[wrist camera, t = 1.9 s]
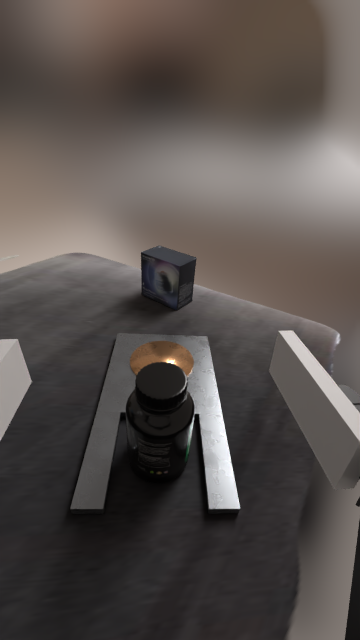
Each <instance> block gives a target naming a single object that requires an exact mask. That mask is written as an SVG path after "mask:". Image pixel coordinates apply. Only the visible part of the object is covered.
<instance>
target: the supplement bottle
mask: <svg viewBox="0 0 360 640" xmlns="http://www.w3.org/2000/svg"><path fill="white" fill-rule="evenodd" d="M187 387H188V379H187V375H186V374H185V372H184V371H183V370H182V369H181V368H180V367H179V366H176V365H175V364H172V363H167V362H155V363H151V364H148V365H147V366H144V367H143V368H142V369H141V370H140V371H139V372H138V374H137V376H136V380H135V389H134V390H133V392H132V393H131V394H130V396H129V398H128V400H127V403H126V429H127V446H128V458H129V463H130V466H131V468H132V470H133V471H134V472H135V474H136V475H137V476H139V477H140V478H141V479H143V480H145V481H147V482H151V483H165V482H168V481H171V480H173V479H174V478H176V477H177V476H178V475H179V474H180V473H181V472H182V471H183V470H184V468H185V466H186V464H187V461H188V456H189V450H190V444H191V437H192V430H193V423H194V416H195V404H194V400H193V398H192V396H191V394H190V393H189V392H188V390H187Z"/></svg>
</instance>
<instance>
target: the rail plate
mask: <svg viewBox="0 0 360 640" xmlns="http://www.w3.org/2000/svg"><path fill="white" fill-rule="evenodd" d="M155 362H167V363H172V364H175V365H176V366H179V367H180V368H181V369H182V370H183V371H184V372H185V374H186V375H187V379H188V387H187V390H188V392H189V393H190V394H191V396H192V398H193V400H194V404H195V416H194V419H198V420H199V430H200V440H201V450H202V460H203V470H204V479H205V489H206V499H207V509H208V514H238V513H239V510H240V505H239V500H238V495H237V489H236V484H235V479H234V474H233V468H232V463H231V458H230V453H229V447H228V442H227V437H226V432H225V427H224V421H223V416H222V411H221V406H220V400H219V395H218V390H217V385H216V379H215V374H214V369H213V364H212V358H211V353H210V348H209V343H208V337H206V336H179V335H153V334H126V333H118V335H117V339H116V342H115V346H114V350H113V353H112V357H111V361H110V364H109V368H108V372H107V375H106V379H105V383H104V386H103V390H102V394H101V397H100V401H99V405H98V408H97V412H96V416H95V419H94V423H93V427H92V430H91V434H90V438H89V441H88V445H87V449H86V452H85V456H84V460H83V463H82V467H81V471H80V474H79V478H78V482H77V485H76V489H75V493H74V497H73V500H72V504H71V508H70V510H71V513H72V514H104V510H105V505H106V499H107V493H108V488H109V482H110V477H111V471H112V465H113V460H114V454H115V448H116V443H117V437H118V432H119V426H120V420H121V417H126V403H127V400H128V398H129V396H130V394H131V393H132V392H133V390H134V389H135V380H136V376H137V374H138V372H139V371H140V370H141V369H142V368H143V367H144V366H147V365H148V364H151V363H155Z"/></svg>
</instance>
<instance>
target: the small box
mask: <svg viewBox="0 0 360 640" xmlns="http://www.w3.org/2000/svg"><path fill="white" fill-rule="evenodd" d="M195 266H196V257H193V256H190V255H187V254H184V253H180V252H177V251H174V250H171V249H168V248H165V247H162V246H157V247H154V248H152V249H149V250H146V251H143V252H141V270H142V295H144V296H146V297H148V298H150V299H153V300H155V301H157V302H159V303H161V304H164V305H166V306H168V307H170V308H172V309H174V310H178V309H180V308H182V307H183V306H185V305H186V304H188V303H190V302H191V301H192V295H193V285H194V275H195Z"/></svg>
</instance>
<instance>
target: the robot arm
mask: <svg viewBox="0 0 360 640" xmlns="http://www.w3.org/2000/svg"><path fill="white" fill-rule="evenodd" d="M269 372H270V374H271V376H272V378H273V379H274V381H275V383H276V385H277V387H278V389H279V390H280V392H281V394H282V396H283V398H284V399H285V401H286V403H287V405H288V407H289V408H290V410H291V412H292V414H293V416H294V418H295V419H296V421H297V423H298V425H299V427H300V428H301V430H302V432H303V434H304V436H305V438H306V439H307V441H308V443H309V445H310V447H311V448H312V450H313V452H314V454H315V456H316V457H317V459H318V461H319V463H320V465H321V467H322V468H323V470H324V472H325V474H326V476H327V477H328V479H329V481H330V483H331V485H332V486H333V488H334V490H338V489H350V488H354V487H355V485H356V483H357V482H358V480H359V479H360V396H359V395H358V393H356V392H355V391H354V390H352V389H351V388H349V387H348V386H346V385H337V384H336V383H335V382H334V381H333V379H332V378H331V377H330V376H329V375H328V373H327V372H326V371H325V370H324V368H323V367H322V366H321V365H320V364H319V362H318V361H317V360H316V359H315V357H314V356H313V355H312V354H311V352H310V351H309V350H308V349H307V348H306V346H305V345H304V344H303V343H302V341H301V340H300V339H299V338H298V337H297V335H296V334H295V333H294V332H293V331H279V332H278V336H277V340H276V344H275V348H274V352H273V357H272V361H271V365H270V369H269ZM31 382H32V381H31V378H30V375H29V372H28V369H27V366H26V363H25V360H24V357H23V354H22V351H21V348H20V345H19V342H18V339H4V340H0V440H1V439H2V437H3V435H4V433H5V431H6V429H7V427H8V425H9V423H10V422H11V420H12V418H13V416H14V414H15V412H16V410H17V408H18V407H19V405H20V403H21V401H22V399H23V397H24V395H25V393H26V391H27V390H28V388H29V386H30V384H31ZM356 505H357V506H360V498H359V499H358V501H357V503H356ZM345 640H360V521H359V529H358V538H357V546H356V554H355V563H354V570H353V578H352V586H351V594H350V603H349V611H348V619H347V627H346V635H345Z"/></svg>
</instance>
